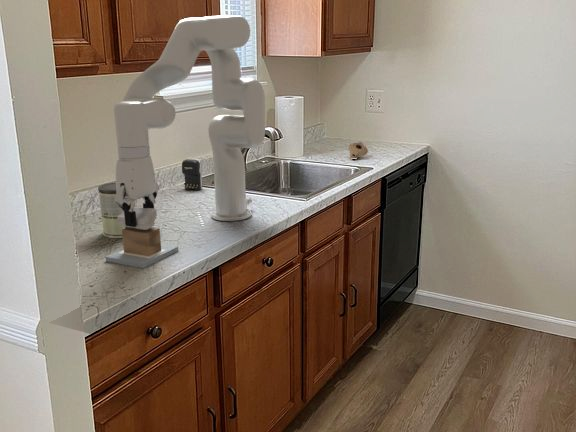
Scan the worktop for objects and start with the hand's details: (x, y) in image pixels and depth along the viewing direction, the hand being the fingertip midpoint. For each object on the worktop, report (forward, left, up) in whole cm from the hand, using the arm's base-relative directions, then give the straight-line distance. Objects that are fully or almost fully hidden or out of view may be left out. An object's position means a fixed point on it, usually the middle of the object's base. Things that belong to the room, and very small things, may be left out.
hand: (140, 221), depth 152 cm
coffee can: (-13, -19, -9) cm, 25 cm away
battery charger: (-66, -32, -9) cm, 74 cm away
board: (0, 0, -9) cm, 9 cm away
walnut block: (0, 0, -8) cm, 8 cm away
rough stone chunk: (0, -1, -1) cm, 2 cm away
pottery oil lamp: (-148, +2, -9) cm, 148 cm away
